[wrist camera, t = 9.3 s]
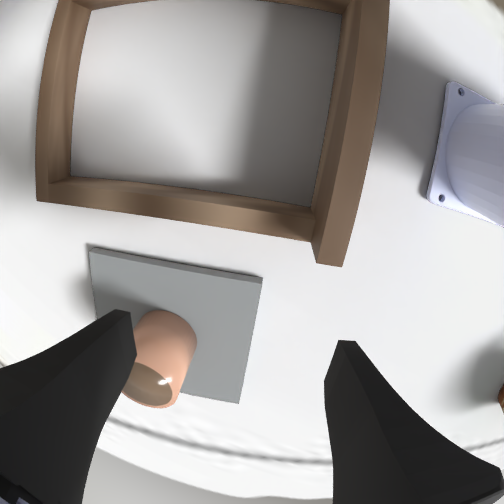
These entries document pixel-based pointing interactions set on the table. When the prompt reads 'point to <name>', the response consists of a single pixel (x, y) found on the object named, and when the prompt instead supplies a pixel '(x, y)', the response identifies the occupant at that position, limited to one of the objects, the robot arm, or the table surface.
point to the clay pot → (160, 359)
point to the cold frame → (214, 203)
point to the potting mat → (186, 312)
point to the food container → (501, 398)
